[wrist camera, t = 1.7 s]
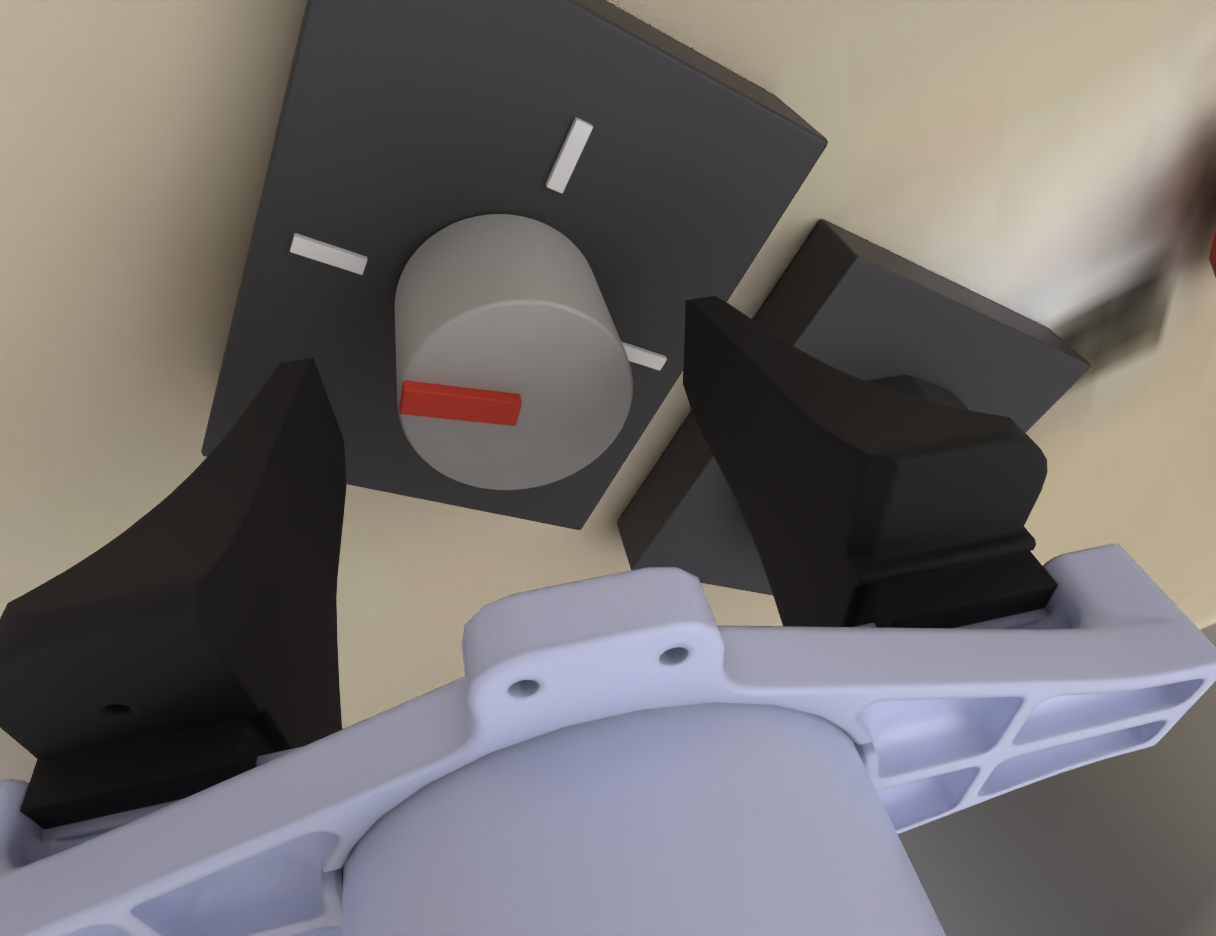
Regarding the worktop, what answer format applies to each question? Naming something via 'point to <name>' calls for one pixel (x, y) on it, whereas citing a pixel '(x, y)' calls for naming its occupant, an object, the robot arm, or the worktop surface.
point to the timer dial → (507, 355)
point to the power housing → (867, 349)
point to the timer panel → (497, 202)
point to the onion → (1213, 253)
